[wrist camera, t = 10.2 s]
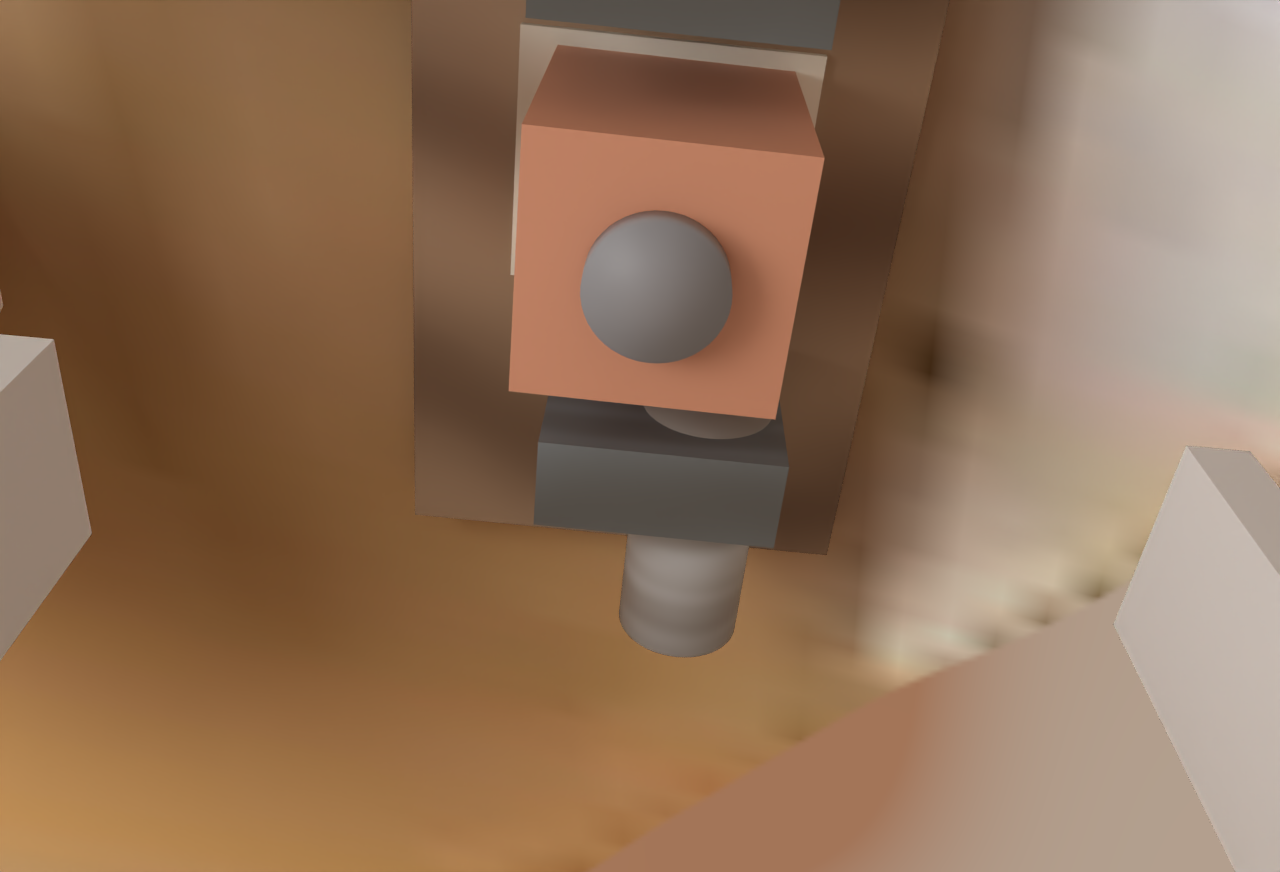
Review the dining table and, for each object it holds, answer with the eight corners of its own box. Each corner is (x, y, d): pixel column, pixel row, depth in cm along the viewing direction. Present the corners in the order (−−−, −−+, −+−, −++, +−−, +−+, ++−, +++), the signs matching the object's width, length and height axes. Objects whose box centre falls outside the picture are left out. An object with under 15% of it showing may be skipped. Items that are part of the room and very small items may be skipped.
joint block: (543, 267, 26) (503, 406, 21) (557, 44, 24) (517, 134, 18) (758, 291, 27) (777, 436, 21) (795, 71, 24) (828, 169, 18)
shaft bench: (422, -408, 21) (322, -470, 15) (1010, -342, 21) (1129, -379, 16) (424, 489, 31) (364, 654, 26) (822, 528, 32) (851, 701, 26)
